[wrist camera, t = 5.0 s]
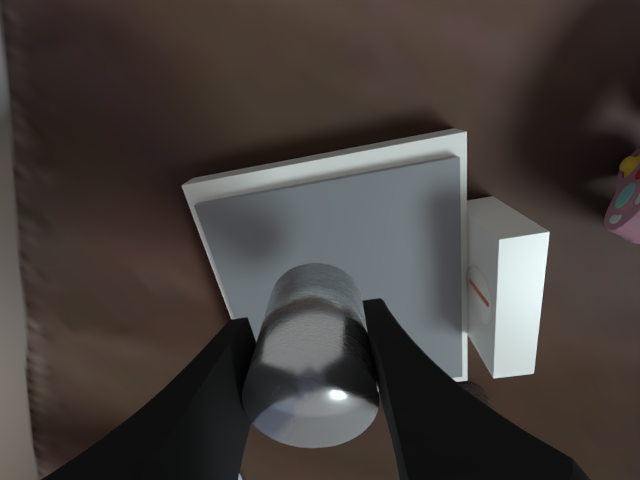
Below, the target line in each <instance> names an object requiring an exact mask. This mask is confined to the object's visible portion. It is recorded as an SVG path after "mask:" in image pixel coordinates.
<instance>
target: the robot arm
mask: <svg viewBox="0 0 640 480" xmlns="http://www.w3.org/2000/svg"><path fill="white" fill-rule="evenodd" d="M362 302H363V308H364V314H365V320H366V327H367V333H368V339H369V345H370V351H371V356H372V360H373V365H374V370H375V376H376V382H377V386H378V390H379V394H380V397H381V401H382V405H383V409H384V412H385V416H386V420H387V423H388V427H389V431H390V435H391V438H392V442H393V447H394V451H395V455H396V461H397V466H398V472H399V477H400V480H590V479H589V477H588V476H587V475H586V474H585V473H584V471H583V470H582V469H581V468H580V467H579V465H578V464H577V463H576V462H575V461H574V460H573V459H572V458H570V457H569V456H567V455H565V454H564V453H562V452H560V451H558V450H557V449H555V448H553V447H551V446H550V445H548V444H546V443H545V442H543V441H541V440H539V439H538V438H536V437H534V436H532V435H531V434H529V433H527V432H526V431H524V430H523V429H521V428H519V427H518V426H516V425H515V424H513V423H512V422H510V421H509V420H507V419H506V418H504V417H503V416H501V415H500V414H498V413H497V412H496V411H494V410H493V409H492V408H490V407H489V406H487V405H486V404H485V403H483V402H482V401H481V400H479V399H478V398H476V397H475V396H474V395H472V394H471V393H470V392H468V391H467V390H466V389H465V388H463V387H462V386H461V385H460V384H458V383H457V382H456V381H455V380H454V379H452V378H451V377H450V376H449V375H448V374H447V373H446V372H444V371H443V370H442V369H441V368H440V367H439V366H438V365H437V364H436V363H435V362H434V361H432V360H431V359H430V358H429V357H428V356H427V355H426V354H425V353H424V351H423V350H422V349H421V348H420V347H419V346H418V345H417V344H416V343H415V342H414V341H413V340H412V339H411V337H410V336H409V335H408V334H407V333H406V331H405V330H404V329H403V328H402V327H401V325H400V324H399V323H398V322H397V320H396V319H395V318H394V316H393V315H392V313H391V312H390V310H389V309H388V307H387V306H386V304H385V302H384V300H382V299H381V298H377V299H370V300H363V301H362ZM255 346H256V340H255V337H254V334H253V331H252V328H251V325H250V323H249V320H248V317H245V318H238V319H231V320H230V321H229V322H228V323H227V324H226V325H225V326H224V327H223V328H222V329H221V330H220V331H219V332H218V334H217V335H216V336H215V337H214V338H213V339H212V340H211V341H210V342H209V343H208V344H207V345H206V346H205V348H204V349H203V350H202V351H201V352H200V353H199V354H198V355H197V356H196V357H195V358H194V359H193V360H192V361H191V362H190V363H189V364H188V365H187V366H186V367H185V368H184V369H183V370H182V371H181V372H180V373H179V374H178V375H177V376H176V377H175V378H174V379H173V380H172V381H171V382H170V383H169V384H168V385H167V386H166V387H165V388H164V389H163V390H162V391H160V392H159V393H158V394H157V395H156V396H155V397H154V398H153V399H151V400H150V401H149V402H148V403H147V404H146V405H144V406H143V407H142V408H141V409H140V410H138V411H137V412H136V413H135V414H134V415H132V416H131V417H130V418H129V419H127V420H126V421H125V422H123V423H122V424H121V425H119V426H118V427H117V428H115V429H114V430H113V431H111V432H110V433H109V434H108V435H106V436H105V437H104V438H102V439H101V440H100V441H98V442H97V443H95V444H94V445H93V446H91V447H90V448H88V449H87V450H85V451H84V452H83V453H81V454H80V455H78V456H77V457H75V458H74V459H72V460H71V461H69V462H68V463H66V464H65V465H63V466H62V467H60V468H59V469H57V470H56V471H54V472H53V473H51V474H49V475H48V476H46V477H45V478H43V479H42V480H242V478H241V475H240V473H239V471H240V466H241V461H242V457H243V452H244V448H245V444H246V440H247V436H248V432H249V429H250V425H251V421H250V419H249V418H248V416H247V414H246V412H245V410H244V407H243V402H242V391H243V386H244V383H245V379H246V376H247V373H248V369H249V366H250V363H251V359H252V356H253V352H254V349H255Z"/></svg>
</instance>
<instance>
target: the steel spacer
mask: <svg viewBox="0 0 640 480" xmlns="http://www.w3.org/2000/svg"><path fill="white" fill-rule="evenodd" d="M362 301H363V300H362V295H361V291H360V289H359V287H358V285H357V284H356V282H355V281H354V280H353V278H352V277H351V276H350V275H348V274H347V273H346V272H344V271H343V270H341V269H339V268H337V267H335V266H332V265H328V264H323V263H308V264H303V265H299V266H296V267H294V268H292V269H290V270H288V271H287V272H285V273H284V274H283V275H282V276H281V277H280V278H279V279H278V280H277V282H276V283H275V285H274V287H273V289H272V292H271V295H270V299H269V302H268V305H267V309H266V312H265V315H264V319H263V322H262V326H261V329H260V332H259V336H258V339H257V342H256V346H255V349H254V352H253V356H252V359H251V363H250V366H249V369H248V373H247V376H246V379H245V383H244V386H243V391H242V402H243V407H244V410H245V412H246V414H247V416H248V418H249V419H250V421H251V422H252V423H253V424H254V425H255V426H256V427H257V428H258V429H259V430H260V431H261V432H263V433H264V434H265V435H267V436H269V437H270V438H272V439H274V440H276V441H279V442H282V443H284V444H288V445H291V446H296V447H303V448H324V447H330V446H335V445H339V444H342V443H344V442H347V441H349V440H351V439H353V438H355V437H357V436H358V435H360V434H361V433H362V432H363V431H365V430H366V429H367V428H368V427H369V425H370V424H371V423H372V421H373V420H374V418H375V416H376V414H377V411H378V407H379V394H378V388H377V382H376V376H375V370H374V365H373V360H372V356H371V351H370V345H369V339H368V333H367V327H366V320H365V314H364V308H363V302H362Z"/></svg>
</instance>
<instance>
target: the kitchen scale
mask: <svg viewBox="0 0 640 480" xmlns="http://www.w3.org/2000/svg"><path fill="white" fill-rule="evenodd" d="M182 189H183V191H184V194H185V197H186V199H187V202H188V205H189V207H190V210H191V213H192V215H193V218H194V221H195V223H196V226H197V229H198V231H199V234H200V237H201V239H202V242H203V245H204V247H205V250H206V253H207V255H208V258H209V261H210V263H211V266H212V269H213V271H214V274H215V277H216V279H217V282H218V285H219V287H220V290H221V293H222V296H223V298H224V301H225V304H226V306H227V309H228V312H229V314H230V317H231V319H238V318H245V317H248V320H249V323H250V325H251V328H252V331H253V334H254V337H255V340H256V342H257V339H258V336H259V332H260V329H261V326H262V322H263V319H264V315H265V312H266V309H267V305H268V302H269V299H270V295H271V292H272V289H273V287H274V285H275V283H276V282H277V280H278V279H279V278H280V277H281V276H282V275H283V274H284V273H285V272H287V271H288V270H290V269H292V268H294V267H296V266H299V265H303V264H308V263H323V264H328V265H332V266H335V267H337V268H339V269H341V270H343V271H344V272H346V273H347V274H348V275H350V276H351V277H352V278H353V280H354V281H355V282H356V284H357V285H358V287H359V289H360V291H361V295H362V300H370V299H377V298H381V299H382V300H384V302H385V304H386V306H387V307H388V309H389V310H390V312H391V313H392V315H393V316H394V318H395V319H396V320H397V322H398V323H399V324H400V325H401V327H402V328H403V329H404V330H405V331H406V333H407V334H408V335H409V336H410V337H411V339H412V340H413V341H414V342H415V343H416V344H417V345H418V346H419V347H420V348H421V349H422V350H423V351H424V353H425V354H426V355H427V356H428V357H429V358H430V359H431V360H432V361H434V362H435V363H436V364H437V365H438V366H439V367H440V368H441V369H442V370H443V371H444V372H446V373H447V374H448V375H449V376H450V377H451V378H452V379H454V380H455V381H456V382H460V381H467V334H468V336H469V338H470V339H471V341H472V343H473V344H474V346H475V348H476V350H477V351H478V353H479V355H480V356H481V358H482V360H483V362H484V363H485V365H486V367H487V368H488V370H489V372H490V374H491V375H492V377H493V378H501V377H510V376H518V375H527V374H534V367H535V358H536V349H537V341H538V332H539V323H540V314H541V305H542V296H543V287H544V278H545V269H546V260H547V251H548V242H549V233H550V232H549V231H548V230H546V229H544V228H543V227H541V226H540V225H538V224H536V223H535V222H533V221H532V220H530V219H528V218H527V217H525V216H524V215H522V214H520V213H519V212H517V211H516V210H514V209H512V208H511V207H509V206H508V205H506V204H504V203H503V202H501V201H500V200H498V199H496V198H495V197H493V196H491V197H485V198H479V199H473V200H467V132H466V131H463V130H459V129H455V128H452V129H447V130H442V131H437V132H432V133H426V134H421V135H416V136H411V137H405V138H400V139H395V140H390V141H384V142H379V143H374V144H369V145H363V146H358V147H353V148H348V149H342V150H337V151H332V152H327V153H322V154H316V155H311V156H306V157H301V158H295V159H290V160H285V161H280V162H274V163H269V164H264V165H259V166H253V167H248V168H243V169H238V170H232V171H227V172H222V173H217V174H211V175H206V176H201V177H196V178H192V179H191V180H189V181H188V182H186V183H185V184H183V185H182ZM377 388H378V386H377ZM378 391H379V390H378Z"/></svg>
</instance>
